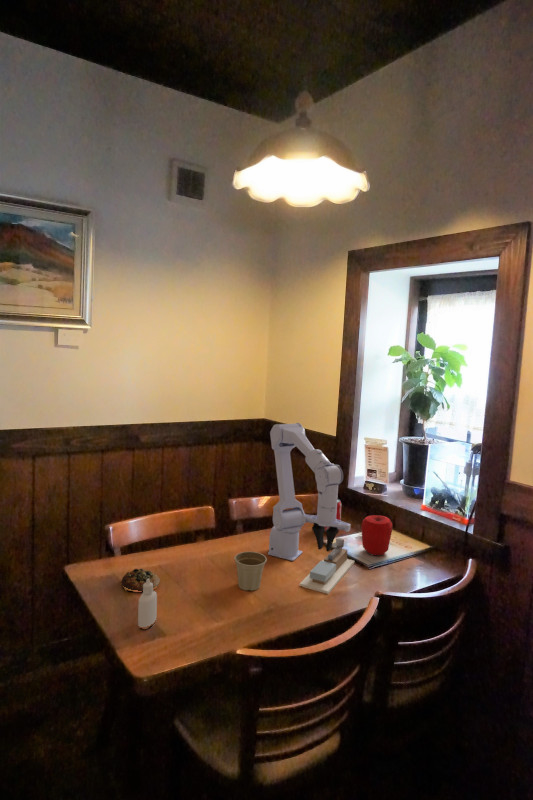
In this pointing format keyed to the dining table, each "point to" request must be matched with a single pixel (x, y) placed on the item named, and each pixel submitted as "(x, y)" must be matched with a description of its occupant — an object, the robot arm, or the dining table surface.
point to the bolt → (338, 549)
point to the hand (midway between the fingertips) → (324, 549)
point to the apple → (376, 534)
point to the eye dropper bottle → (147, 605)
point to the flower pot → (250, 569)
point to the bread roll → (139, 579)
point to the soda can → (338, 514)
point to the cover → (323, 571)
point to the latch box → (341, 570)
